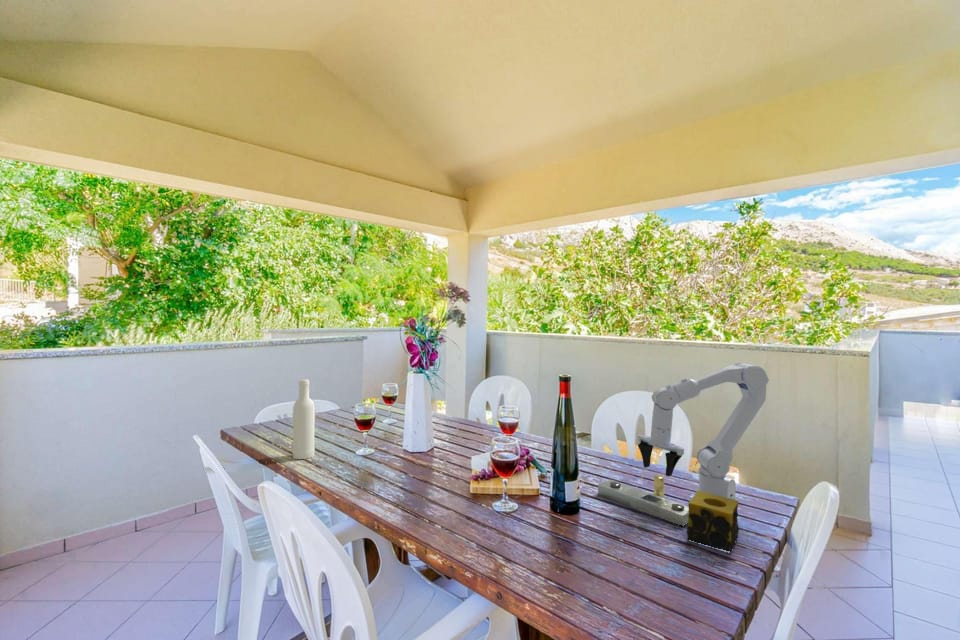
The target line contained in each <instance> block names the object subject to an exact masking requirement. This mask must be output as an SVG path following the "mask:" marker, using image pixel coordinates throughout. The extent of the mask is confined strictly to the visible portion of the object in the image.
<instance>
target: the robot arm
mask: <svg viewBox="0 0 960 640" xmlns="http://www.w3.org/2000/svg"><path fill="white" fill-rule="evenodd" d="M680 380H681V381H679V382H675V383H673V384H666V387H658V388H657V389H655V391H653V393H652V395H651V400H652V402H653V410H652V417H651V418H652V419H651V428H650V430H651V431H650V436H647V435H644V434H638V435H637V442H638V443H637V447H638V450H639V451H640V455H641V459H642V464H643V468H650V465H651V458H652V454H653V453H652V452H653V449H654V447H656V448H659V449H662V450H665V451H667V452H665V460H666V464H665V465H666V467H665V476H666V477H671V476H672V475H673V473H674V469H675V467H676V466H677V463H678V462H679V460H680V459H681V458H682V456H684V453H685V448H684V447H682V446H679V445H676V444H675V443H673V442H671V440H672V428H673V416H674V415H673V413H674V408H675V407H677V404H680V403H683V402H687V401H688V400H692V399H694V398H696V397H698V396H700V393H701V391H702V390H703V391H704V390H706V389H709V388H712V387H715V386H718V385H722V384H725V383H734V384H736V385H737V386H738V388H739V390H740V392H741V395H742V396H741V398H740V401H739V402H738V403H737V404H736V406H735V408H734V410H733V411H732V412H731V414H730V416H729V417H728V418H727V420H726V422H725V423H724V424H723V426H722V427H721V429H720V431H719V432H718V433H717V435H716V436H715V438H714V439H713V440H709V441H708V442H707V444H706V445H704V446H703V447H702V448H700V449H699V450H698V452H697V453H696V460H697V461H696V462H698V464H700V467H699V470H698V491H702V492H706V493H710V494H714V495H718V496H722V497H725V498H729V499H734V500H736V492H737V491H736V481H735V479H733V478H731V477H730V476H727V474H728V473H729V472H730V465H731V463H732V461H733V458H734V456H733V455H734V454H733V450H734V449H735V447H736V445H737V444H738V442H739V441H740V439H741V438H742V436H743V435H744V433H745V432H746V430H747V429H748V428H749V426H750V425H751V423H752V421H753V420H754V418H755V417H756V415H757V414H758V412H759V411H760V409H761V408H762V407H763V405H764V404H765V402H766V395H767V385H768V383H769V381H770V380H769V377H768V374H767V372H766V371H765V369H764V368H763V367H761V366H759V365H752V364H748V363H746V362H737V363H735V364H730V365H727V366H726V367H723V368H720V369H719V370H716V371H714V372H712V373H711V372H710V374H707V375H704V376H703V377H700V378H697V379H692V378H690V377H689V378H686V377H683V378H681V379H680Z"/></svg>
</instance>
